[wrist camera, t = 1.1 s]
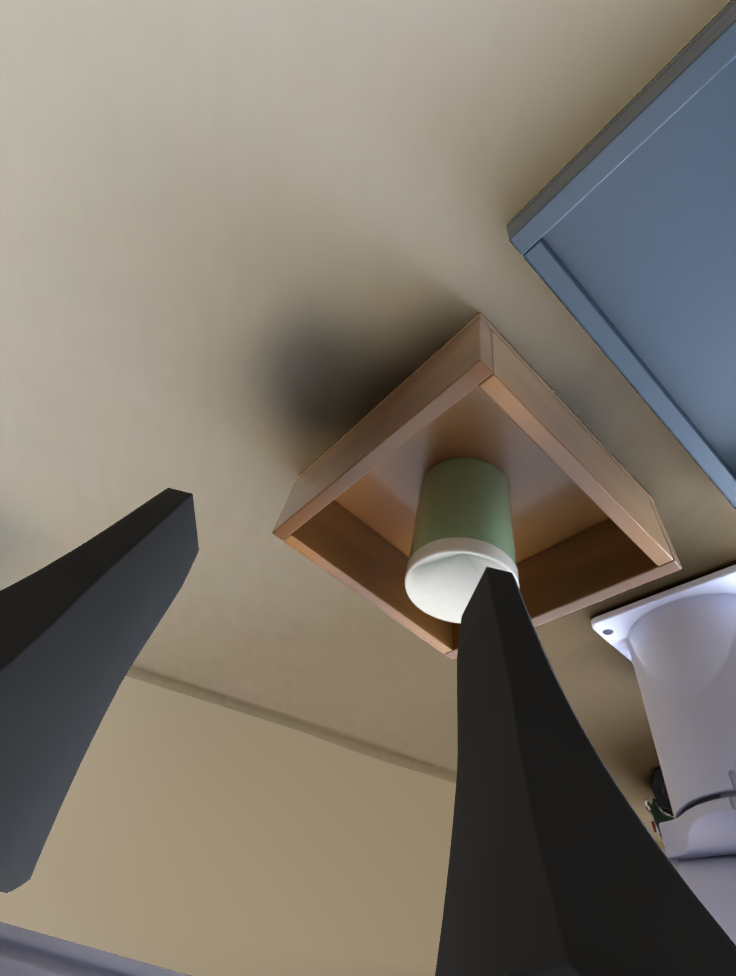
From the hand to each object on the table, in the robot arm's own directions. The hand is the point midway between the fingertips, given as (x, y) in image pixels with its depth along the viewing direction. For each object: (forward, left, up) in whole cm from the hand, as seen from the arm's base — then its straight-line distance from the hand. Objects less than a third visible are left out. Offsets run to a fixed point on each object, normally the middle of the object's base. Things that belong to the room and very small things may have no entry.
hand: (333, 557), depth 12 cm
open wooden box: (-6, +1, -10) cm, 11 cm away
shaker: (-6, +1, -9) cm, 11 cm away
